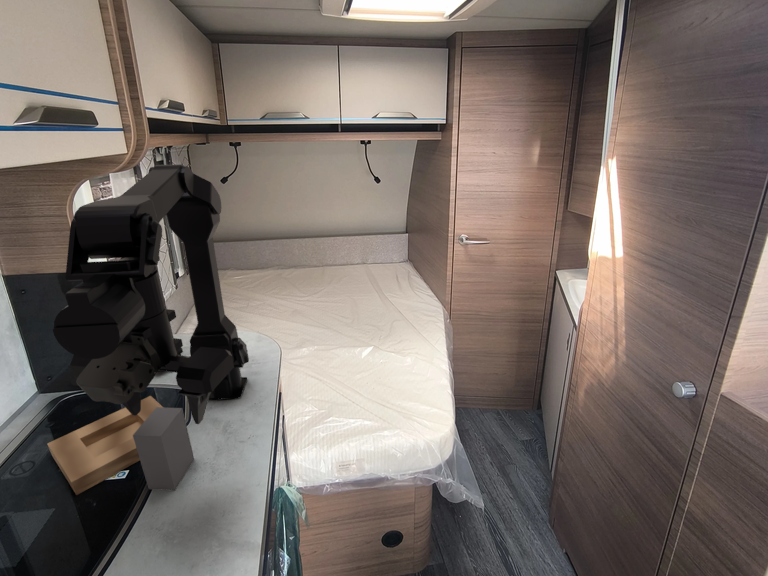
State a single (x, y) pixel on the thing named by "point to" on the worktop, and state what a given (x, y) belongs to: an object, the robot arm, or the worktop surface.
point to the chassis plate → (100, 447)
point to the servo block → (164, 448)
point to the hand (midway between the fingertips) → (167, 417)
